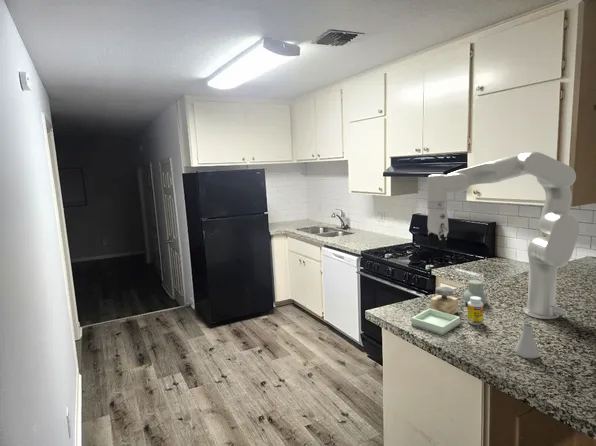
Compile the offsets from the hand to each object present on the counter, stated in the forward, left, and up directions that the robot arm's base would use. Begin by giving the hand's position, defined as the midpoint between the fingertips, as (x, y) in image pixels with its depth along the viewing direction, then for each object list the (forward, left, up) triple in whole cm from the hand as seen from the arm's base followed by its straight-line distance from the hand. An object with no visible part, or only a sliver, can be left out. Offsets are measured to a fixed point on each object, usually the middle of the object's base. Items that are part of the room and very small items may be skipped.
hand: (436, 246), depth 158 cm
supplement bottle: (-15, -2, -29) cm, 33 cm away
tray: (-5, +10, -29) cm, 31 cm away
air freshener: (-6, -22, -29) cm, 37 cm away
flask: (-38, +11, -29) cm, 49 cm away
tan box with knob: (-1, -4, -29) cm, 29 cm away
